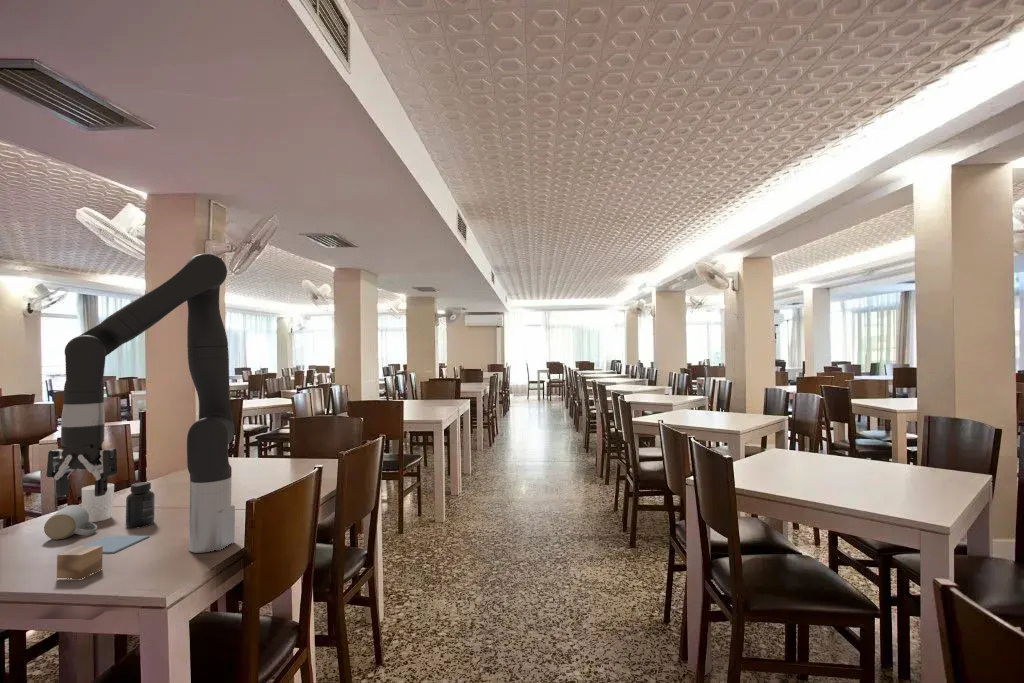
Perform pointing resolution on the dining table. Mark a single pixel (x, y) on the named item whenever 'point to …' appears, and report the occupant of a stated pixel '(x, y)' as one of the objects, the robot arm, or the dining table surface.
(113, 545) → the slate mat
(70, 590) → the dining table surface
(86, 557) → the walnut block
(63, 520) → the ceramic mug
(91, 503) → the white cup
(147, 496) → the supplement bottle
